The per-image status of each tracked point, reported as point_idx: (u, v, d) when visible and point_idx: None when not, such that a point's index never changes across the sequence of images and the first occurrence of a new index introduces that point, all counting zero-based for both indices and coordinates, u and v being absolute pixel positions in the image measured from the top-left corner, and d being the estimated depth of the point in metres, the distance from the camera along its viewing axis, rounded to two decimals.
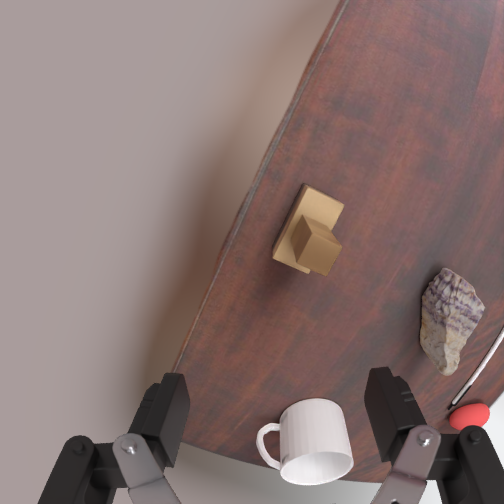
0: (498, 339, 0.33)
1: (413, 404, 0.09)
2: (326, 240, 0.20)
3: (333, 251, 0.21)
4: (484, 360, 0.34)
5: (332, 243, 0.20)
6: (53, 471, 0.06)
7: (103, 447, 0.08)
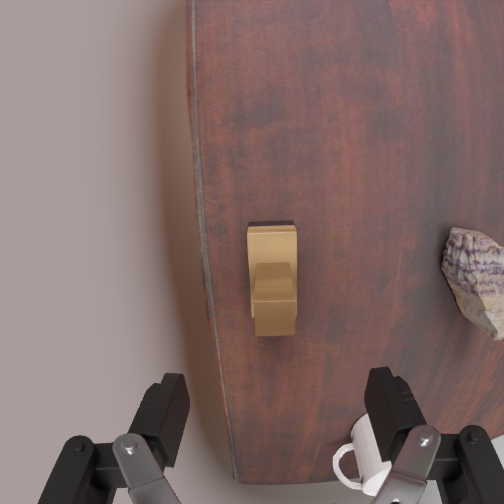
0: None
1: (413, 404, 0.09)
2: (273, 301, 0.17)
3: (287, 308, 0.17)
4: None
5: (281, 301, 0.17)
6: (53, 471, 0.06)
7: (103, 447, 0.08)
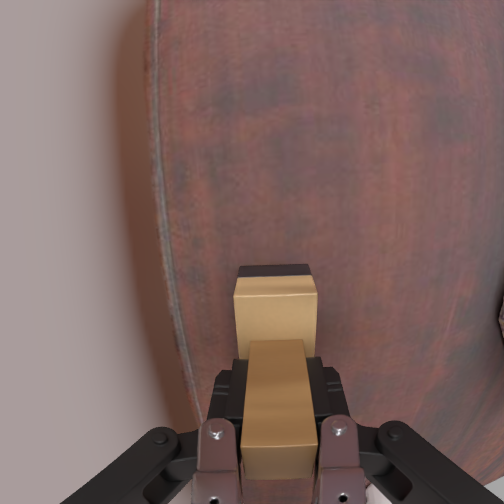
0: None
1: (340, 394, 0.10)
2: (277, 447, 0.08)
3: (302, 454, 0.08)
4: None
5: (292, 447, 0.08)
6: (123, 455, 0.07)
7: (183, 437, 0.09)
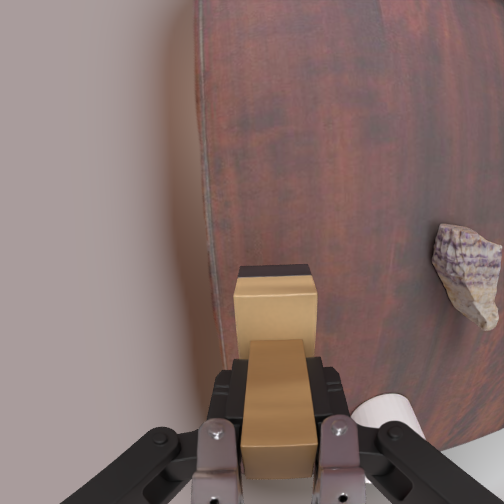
0: None
1: (340, 394, 0.10)
2: (277, 447, 0.08)
3: (302, 453, 0.08)
4: None
5: (292, 446, 0.08)
6: (123, 455, 0.07)
7: (183, 437, 0.09)
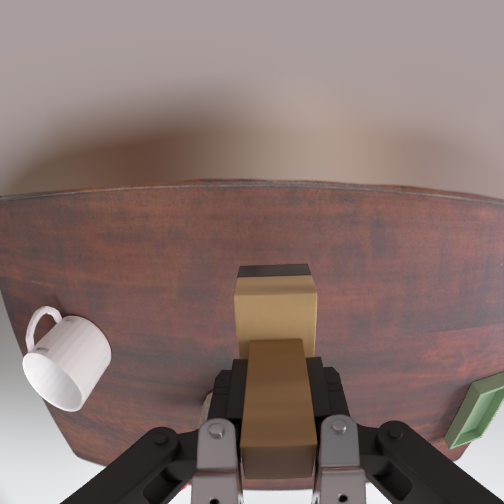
0: None
1: (340, 394, 0.10)
2: (276, 446, 0.08)
3: (302, 453, 0.08)
4: None
5: (292, 446, 0.08)
6: (123, 455, 0.07)
7: (183, 437, 0.09)
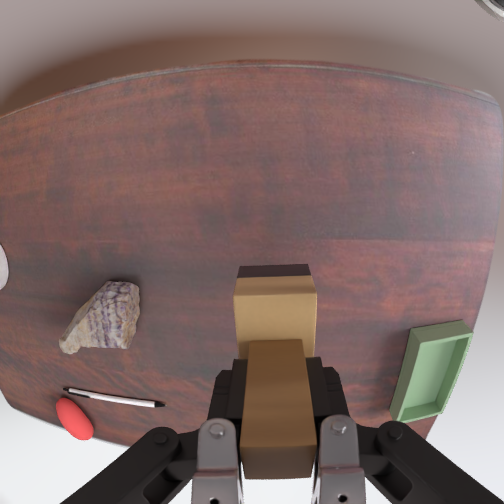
0: (136, 401, 0.39)
1: (339, 394, 0.10)
2: (276, 447, 0.08)
3: (301, 454, 0.08)
4: (114, 397, 0.39)
5: (291, 446, 0.08)
6: (123, 455, 0.07)
7: (183, 437, 0.09)
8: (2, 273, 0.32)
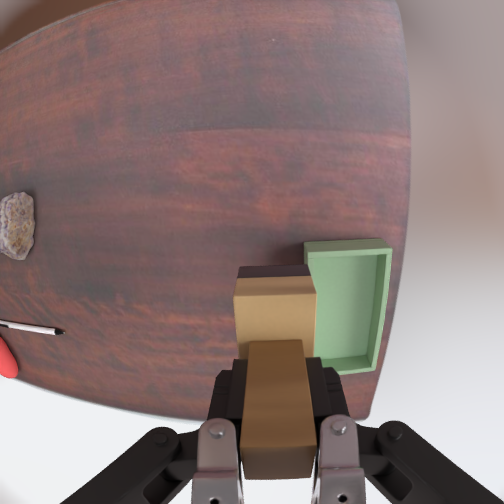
0: (41, 328, 0.36)
1: (339, 394, 0.10)
2: (276, 447, 0.08)
3: (301, 454, 0.08)
4: (25, 325, 0.37)
5: (291, 447, 0.08)
6: (123, 455, 0.07)
7: (183, 437, 0.09)
8: None
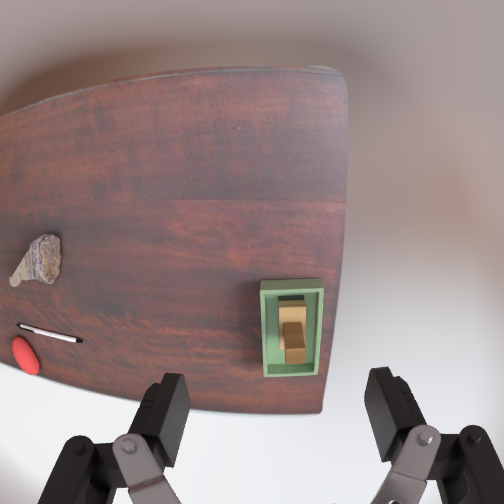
0: (64, 336, 0.48)
1: (413, 404, 0.09)
2: (295, 348, 0.35)
3: (301, 351, 0.35)
4: (49, 332, 0.49)
5: (299, 348, 0.35)
6: (53, 471, 0.06)
7: (103, 447, 0.08)
8: None
